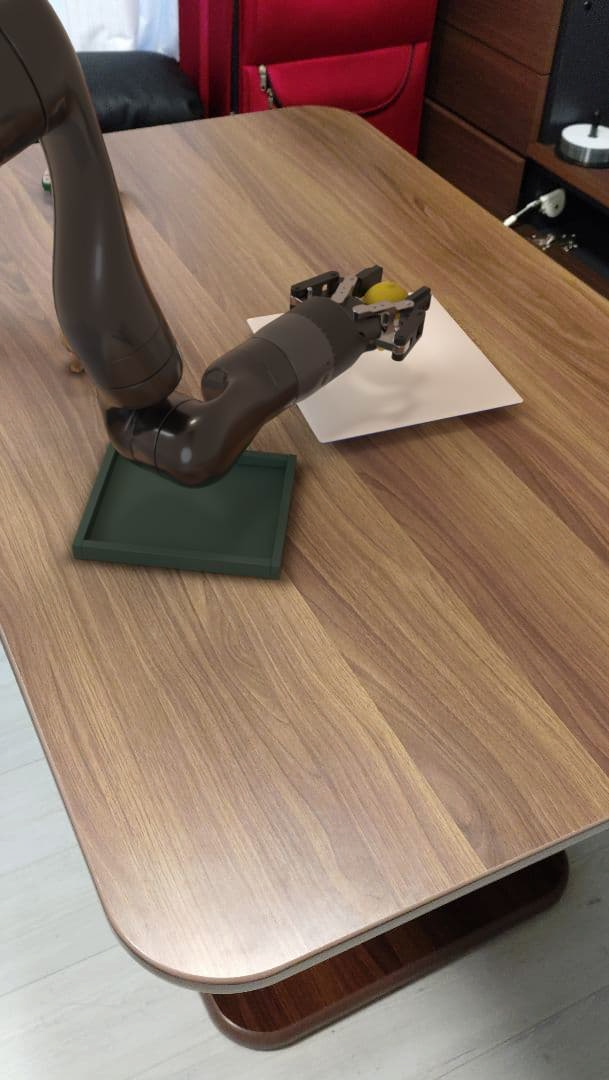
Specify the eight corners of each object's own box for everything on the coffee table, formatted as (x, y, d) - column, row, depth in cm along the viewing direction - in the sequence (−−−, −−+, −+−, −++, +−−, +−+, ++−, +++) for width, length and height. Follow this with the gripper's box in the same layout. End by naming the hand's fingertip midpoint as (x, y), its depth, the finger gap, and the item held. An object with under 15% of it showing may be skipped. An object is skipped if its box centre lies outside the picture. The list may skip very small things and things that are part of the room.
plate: (245, 333, 108) (245, 317, 107) (425, 303, 115) (428, 287, 113) (319, 458, 94) (320, 441, 92) (520, 415, 100) (525, 399, 99)
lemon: (376, 371, 99) (386, 302, 94) (343, 344, 102) (351, 276, 97) (417, 355, 102) (429, 287, 96) (384, 330, 105) (393, 262, 99)
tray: (73, 558, 83) (71, 545, 82) (113, 449, 93) (111, 436, 92) (279, 579, 82) (280, 566, 81) (296, 467, 93) (296, 454, 92)
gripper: (367, 348, 83) (469, 276, 93) (240, 288, 89) (349, 226, 99) (358, 418, 89) (456, 343, 99) (239, 357, 95) (343, 291, 104)
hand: (402, 284), depth 99 cm, fingers closed on lemon, 5 cm apart
